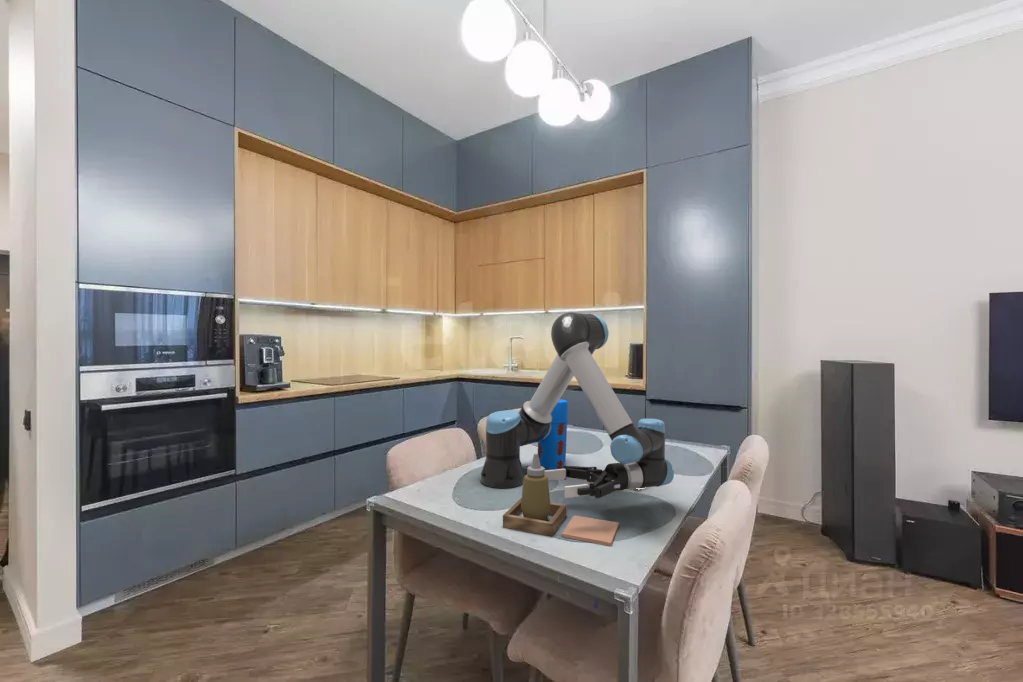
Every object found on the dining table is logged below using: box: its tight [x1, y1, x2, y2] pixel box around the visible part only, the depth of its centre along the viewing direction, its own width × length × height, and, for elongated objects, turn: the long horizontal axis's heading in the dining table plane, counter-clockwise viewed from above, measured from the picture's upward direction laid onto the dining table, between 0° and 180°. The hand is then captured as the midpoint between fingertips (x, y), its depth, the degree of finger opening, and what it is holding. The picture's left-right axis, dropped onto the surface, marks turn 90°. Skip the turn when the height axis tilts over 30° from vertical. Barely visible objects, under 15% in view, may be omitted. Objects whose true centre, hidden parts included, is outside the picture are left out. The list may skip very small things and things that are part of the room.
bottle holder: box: [502, 497, 567, 537], centre depth 115 cm, size 13×13×3 cm
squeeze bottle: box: [520, 453, 551, 521], centre depth 115 cm, size 8×8×18 cm
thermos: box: [537, 398, 568, 470], centre depth 165 cm, size 11×11×25 cm
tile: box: [561, 514, 620, 547], centre depth 109 cm, size 12×12×1 cm
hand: (553, 483), depth 115 cm, fingers open, 13 cm apart
